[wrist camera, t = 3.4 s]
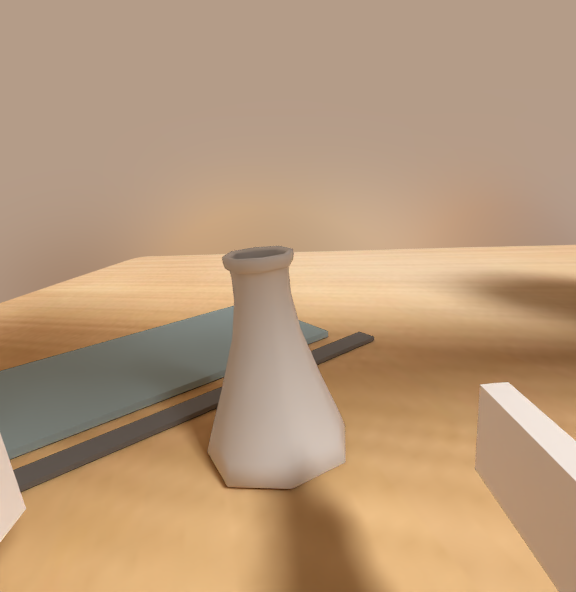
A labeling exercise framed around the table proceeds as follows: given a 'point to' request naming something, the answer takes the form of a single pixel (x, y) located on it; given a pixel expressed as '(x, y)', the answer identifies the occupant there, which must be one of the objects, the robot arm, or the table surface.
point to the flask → (271, 385)
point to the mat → (114, 379)
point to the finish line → (149, 426)
